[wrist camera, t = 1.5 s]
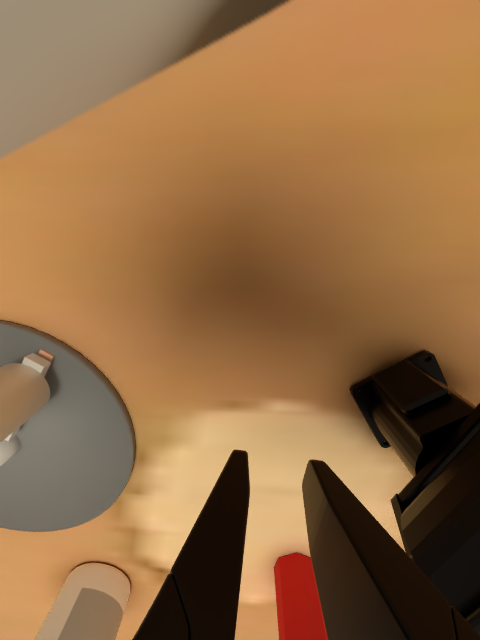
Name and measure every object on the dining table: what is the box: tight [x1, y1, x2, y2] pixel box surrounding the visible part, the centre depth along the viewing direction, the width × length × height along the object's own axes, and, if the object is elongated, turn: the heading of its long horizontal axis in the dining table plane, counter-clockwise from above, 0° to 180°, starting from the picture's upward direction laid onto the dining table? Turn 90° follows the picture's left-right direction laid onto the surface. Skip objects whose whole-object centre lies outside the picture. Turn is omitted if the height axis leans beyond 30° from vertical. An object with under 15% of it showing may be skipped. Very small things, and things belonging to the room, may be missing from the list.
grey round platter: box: [0, 320, 136, 532], centre depth 21 cm, size 21×21×2 cm
